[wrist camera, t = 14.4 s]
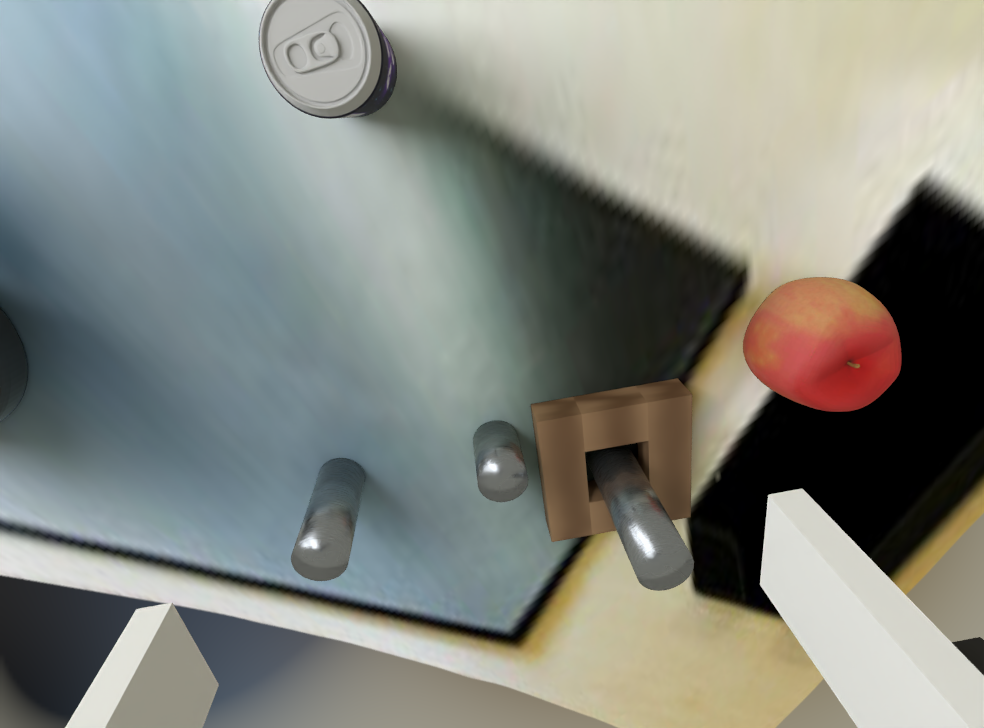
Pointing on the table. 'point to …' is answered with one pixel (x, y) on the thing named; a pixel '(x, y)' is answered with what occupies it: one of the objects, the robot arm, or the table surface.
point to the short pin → (499, 462)
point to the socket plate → (609, 423)
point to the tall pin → (640, 519)
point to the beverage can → (327, 57)
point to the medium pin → (329, 521)
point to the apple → (823, 344)
